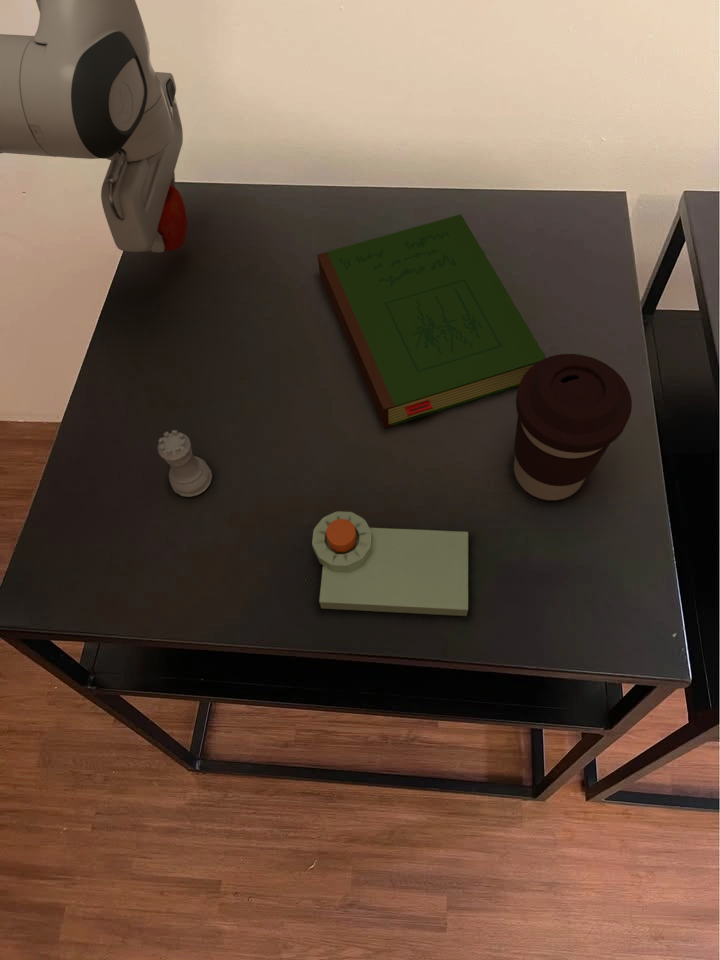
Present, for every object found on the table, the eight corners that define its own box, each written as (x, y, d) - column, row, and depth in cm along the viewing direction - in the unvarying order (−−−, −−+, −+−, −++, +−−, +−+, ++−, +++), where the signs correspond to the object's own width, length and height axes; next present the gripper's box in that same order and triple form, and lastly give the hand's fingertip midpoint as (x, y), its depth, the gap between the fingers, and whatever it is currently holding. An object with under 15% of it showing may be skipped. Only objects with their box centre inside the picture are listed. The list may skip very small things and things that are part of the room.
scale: (310, 608, 69) (305, 595, 66) (319, 525, 74) (315, 510, 71) (466, 616, 68) (469, 604, 65) (466, 531, 72) (469, 516, 69)
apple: (141, 231, 91) (121, 181, 84) (189, 219, 91) (173, 168, 85) (150, 265, 88) (130, 216, 81) (199, 252, 88) (183, 202, 82)
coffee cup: (590, 523, 72) (631, 445, 59) (492, 502, 74) (511, 421, 61) (601, 442, 77) (642, 352, 64) (509, 423, 78) (530, 333, 65)
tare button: (326, 552, 69) (324, 544, 67) (329, 525, 70) (327, 518, 69) (355, 553, 69) (354, 546, 67) (357, 527, 70) (356, 519, 68)
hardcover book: (320, 277, 90) (317, 254, 87) (459, 237, 92) (460, 214, 89) (386, 434, 79) (386, 414, 75) (543, 384, 81) (549, 363, 77)
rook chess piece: (219, 468, 78) (201, 428, 71) (202, 503, 76) (181, 465, 69) (182, 458, 78) (161, 417, 71) (164, 492, 76) (140, 453, 70)
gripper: (135, 188, 70) (173, 290, 82) (176, 65, 80) (204, 171, 92) (73, 187, 71) (120, 289, 83) (121, 65, 81) (157, 171, 93)
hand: (165, 226), depth 88 cm, fingers closed on apple, 6 cm apart
